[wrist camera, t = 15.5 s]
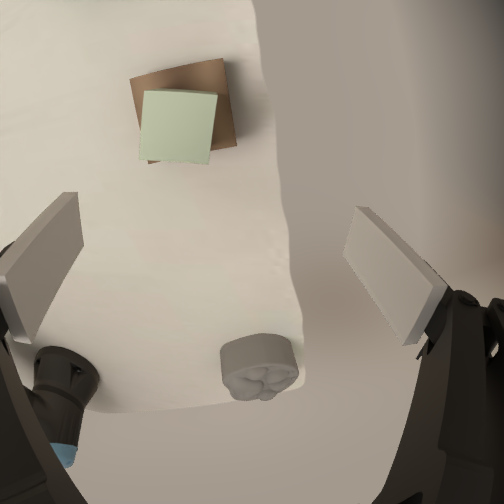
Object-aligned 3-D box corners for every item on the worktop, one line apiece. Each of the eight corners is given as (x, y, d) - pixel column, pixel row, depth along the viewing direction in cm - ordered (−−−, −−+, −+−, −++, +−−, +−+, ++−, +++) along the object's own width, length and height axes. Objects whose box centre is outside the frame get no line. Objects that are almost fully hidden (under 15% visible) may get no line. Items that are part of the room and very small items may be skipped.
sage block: (154, 141, 31) (138, 159, 24) (159, 88, 28) (144, 90, 22) (208, 145, 32) (208, 164, 26) (215, 92, 29) (217, 95, 23)
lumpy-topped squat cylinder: (215, 344, 55) (217, 382, 47) (285, 325, 54) (296, 362, 47) (233, 375, 60) (237, 410, 53) (295, 358, 60) (305, 393, 52)
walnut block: (155, 153, 37) (148, 164, 32) (139, 79, 31) (129, 79, 27) (233, 138, 37) (237, 145, 33) (221, 61, 32) (222, 58, 28)
